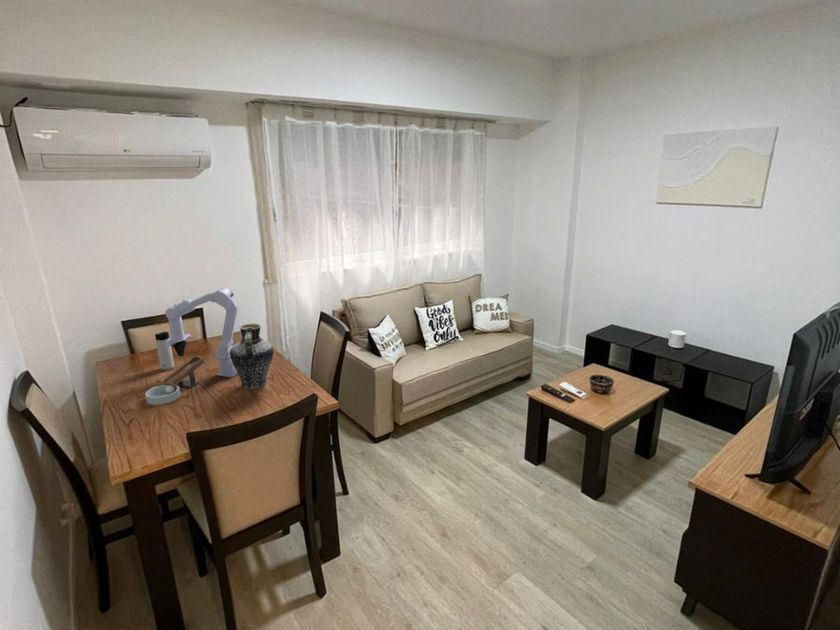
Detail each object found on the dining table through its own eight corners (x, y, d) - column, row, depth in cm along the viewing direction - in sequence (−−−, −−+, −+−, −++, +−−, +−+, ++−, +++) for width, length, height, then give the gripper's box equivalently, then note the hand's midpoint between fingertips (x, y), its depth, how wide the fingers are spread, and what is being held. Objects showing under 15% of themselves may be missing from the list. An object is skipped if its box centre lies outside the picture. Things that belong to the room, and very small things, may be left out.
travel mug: (165, 371, 231) (159, 335, 225) (158, 369, 234) (152, 332, 228) (177, 367, 236) (171, 331, 230) (170, 365, 239) (164, 329, 233)
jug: (233, 380, 222) (226, 322, 213) (274, 373, 229) (268, 317, 221) (234, 398, 204) (226, 336, 195) (279, 390, 211) (273, 330, 202)
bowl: (186, 393, 208) (185, 386, 207) (163, 406, 196) (162, 399, 195) (163, 389, 212) (162, 382, 211) (139, 402, 200) (138, 395, 198)
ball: (171, 395, 206) (177, 389, 209) (168, 389, 204) (174, 384, 207) (165, 394, 207) (171, 388, 210) (162, 388, 205) (168, 383, 208)
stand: (199, 383, 218) (197, 370, 216) (191, 388, 213) (189, 374, 211) (182, 381, 220) (180, 368, 218) (174, 385, 216) (172, 372, 214)
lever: (205, 363, 223) (202, 356, 221) (175, 387, 206) (172, 380, 204) (184, 361, 226) (182, 353, 224) (153, 384, 209) (150, 376, 207)
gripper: (181, 324, 228) (185, 349, 232) (158, 333, 215) (162, 360, 219) (192, 326, 226) (196, 351, 230) (170, 335, 213) (174, 361, 217)
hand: (181, 355), depth 225 cm, fingers closed
